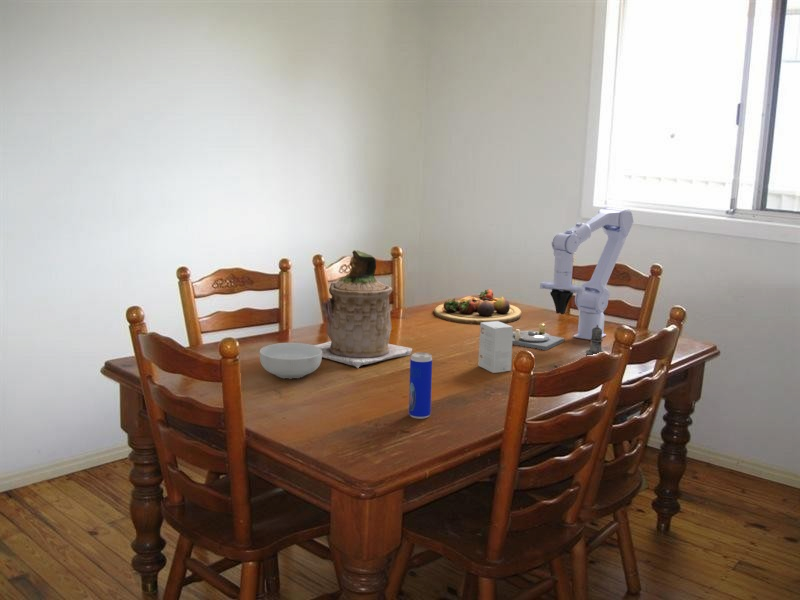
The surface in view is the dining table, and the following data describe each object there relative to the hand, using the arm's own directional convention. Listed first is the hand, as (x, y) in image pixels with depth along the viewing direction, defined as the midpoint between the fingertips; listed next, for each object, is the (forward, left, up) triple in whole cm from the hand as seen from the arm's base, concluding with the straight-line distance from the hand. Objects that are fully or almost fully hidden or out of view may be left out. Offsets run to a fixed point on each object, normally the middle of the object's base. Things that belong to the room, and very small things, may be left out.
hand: (560, 313), depth 271 cm
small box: (+39, -2, -10) cm, 40 cm away
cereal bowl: (+80, -43, -10) cm, 92 cm away
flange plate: (+4, -8, -8) cm, 13 cm away
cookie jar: (+51, -42, -10) cm, 67 cm away
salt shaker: (+16, +19, -10) cm, 26 cm away
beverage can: (+86, +3, -10) cm, 87 cm away
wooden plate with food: (-20, -41, -11) cm, 47 cm away
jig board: (+4, -7, -10) cm, 13 cm away
